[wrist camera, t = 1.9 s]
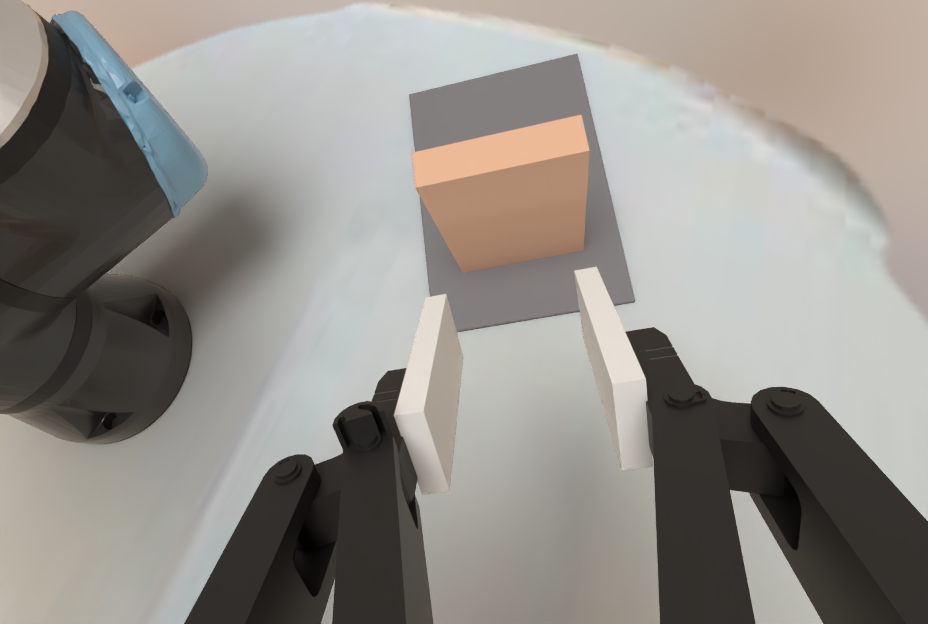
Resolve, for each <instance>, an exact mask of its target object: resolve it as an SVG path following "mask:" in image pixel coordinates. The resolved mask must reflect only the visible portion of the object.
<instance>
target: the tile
mask: <svg viewBox="0 0 928 624" xmlns="http://www.w3.org/2000/svg"><path fill="white" fill-rule="evenodd" d="M589 151H590V150H589V146H588V142H587V137H586V133H585V128H584V124H583V119H582V115H577V116H573V117H568V118H564V119H559V120H555V121H550V122H546V123H542V124H537V125H533V126H528V127H524V128H519V129H515V130H510V131H506V132H502V133H497V134H493V135H488V136H484V137H479V138H475V139H470V140H466V141H462V142H457V143H453V144H448V145H444V146H439V147H435V148H431V149H426V150H422V151H417V152H413V153H412V160H413V170H414V179H415V188H416V190H417V192H418V194H419V195H420V197H421V199H422V201H423V203H424V204H425V206H426V208H427V210H428V212H429V213H430V215H431V217H432V219H433V221H434V222H435V224H436V226H437V228H438V230H439V231H440V233H441V235H442V237H443V239H444V240H445V242H446V244H447V246H448V248H449V249H450V251H451V253H452V255H453V257H454V258H455V260H456V262H457V264H458V266H459V267H460V269H461V271H462V273H466V272H471V271H477V270H482V269H487V268H493V267H498V266H504V265H509V264H514V263H520V262H525V261H531V260H536V259H541V258H547V257H552V256H557V255H563V254H568V253H574V252H579V251H584V234H585V218H586V201H587V184H588V168H589Z"/></svg>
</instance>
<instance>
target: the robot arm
mask: <svg viewBox="0 0 928 624" xmlns="http://www.w3.org/2000/svg"><path fill="white" fill-rule="evenodd" d="M207 175H208V167H207V163H206V160H205V158H204V157H203V155H202V154H201V152H200V151H199V150H198V149H197V147H196V146H195V145H194V144H193V142H192V141H191V140H190V139H189V138H188V136H187V135H186V134H185V133H184V131H183V130H182V129H181V128H180V127H179V125H178V124H177V123H176V122H175V121H174V119H173V118H172V117H171V116H170V115H169V114H168V112H167V111H166V110H165V109H164V108H163V106H162V105H161V104H160V103H159V102H158V100H157V99H156V98H155V97H154V96H153V95H152V93H151V92H150V91H149V90H148V89H147V88H146V86H145V85H144V84H143V83H142V82H141V81H140V79H139V78H138V77H137V76H136V75H135V74H134V72H133V71H132V70H131V69H130V68H129V66H128V65H127V64H126V63H125V62H124V61H123V59H122V58H121V57H120V56H119V55H118V54H117V53H116V51H115V50H114V49H113V48H112V47H111V46H110V45H109V43H108V42H107V41H106V40H105V39H104V38H103V36H102V35H101V34H100V33H99V32H98V31H97V30H96V29H95V28H94V26H93V25H92V24H90V22H89V21H88V20H87V19H86V18H85V17H84V16H83V15H82V14H81V13H79V12H77V11H67V12H66V13H64V14H58V15H55V14H54V15H53V16H52V20H51V22H50V23H49V22H47V21H46V20H45V19H44V18H43V17H41V16H40V15H39V14H38V13H37V12H35V11H34V10H33V9H32V8H31V7H30V6H29V5H27V4H26V3H24V2H23V1H21V0H0V414H8V415H10V416H12V417H14V418H16V419H18V420H21V421H23V422H25V423H27V424H29V425H31V426H34V427H36V428H38V429H40V430H42V431H44V432H46V433H49V434H51V435H53V436H55V437H57V438H60V439H63V440H67V441H71V442H79V443H98V444H103V443H112V442H117V441H120V440H124V439H126V438H129V437H131V436H133V435H135V434H137V433H138V432H140V431H142V430H143V429H145V428H146V427H147V426H149V425H150V424H151V423H152V422H154V421H155V420H156V419H157V418H158V417H159V416H160V415H161V414H162V413H163V412H164V411H165V409H166V408H167V407H168V406H169V404H170V403H171V401H172V400H173V398H174V397H175V395H176V394H177V392H178V390H179V388H180V386H181V384H182V382H183V379H184V377H185V374H186V371H187V368H188V364H189V360H190V353H191V331H190V325H189V321H188V318H187V315H186V313H185V311H184V309H183V307H182V306H181V304H180V303H179V301H178V300H177V299H176V298H175V297H174V296H173V295H172V294H171V293H170V292H168V291H167V290H165V289H164V288H162V287H160V286H157V285H155V284H153V283H151V282H148V281H146V280H144V279H141V278H138V277H134V276H129V275H118V274H105V273H107V272H108V271H109V270H110V269H111V268H113V267H114V266H115V265H116V264H117V263H119V262H120V261H121V260H122V259H123V258H125V257H126V256H127V255H128V254H129V253H131V252H132V251H133V250H134V249H135V248H137V247H138V246H139V245H140V244H141V243H143V242H144V241H145V240H146V239H148V238H149V237H150V236H151V235H152V234H154V233H155V232H156V231H157V230H158V229H160V228H161V227H162V226H163V225H164V224H166V223H167V222H168V221H169V220H170V219H172V218H175V217H176V216H177V215H178V214H179V212H180V209H181V208H182V207H183V206H184V205H185V204H186V203H187V202H188V201H189V200H190V199H191V198H192V197H193V196H194V195H195V194H196V193H197V192H198V191H199V190H200V189H201V188H202V187H203V186H204V183H205V182H206V179H207ZM574 274H575V281H576V288H577V295H578V303H579V310H580V317H581V324H582V332H583V338H584V342H585V345H586V349H587V352H588V355H589V359H590V362H591V366H592V369H593V373H594V376H595V379H596V383H597V386H598V390H599V393H600V397H601V400H602V403H603V407H604V410H605V414H606V417H607V421H608V424H609V427H610V431H611V434H612V438H613V441H614V445H615V448H616V451H617V455H618V458H619V462H620V465H621V469H622V470H628V469H637V468H645V467H653V464H652V455H653V458H654V478H655V503H656V529H657V554H658V580H659V605H660V624H755V619H754V614H753V609H752V604H751V598H750V593H749V588H748V583H747V578H746V572H745V567H744V562H743V557H742V552H741V546H740V541H739V536H738V531H737V526H736V520H735V515H734V510H733V505H732V500H731V495H730V490H735V491H743V492H749V493H750V496H751V498H752V499H753V501H754V503H755V505H756V506H757V508H758V510H759V512H760V513H761V515H762V517H763V519H764V520H765V522H766V524H767V526H768V527H769V529H770V531H771V533H772V534H773V536H774V538H775V540H776V541H777V543H778V545H779V547H780V548H781V550H782V552H783V554H784V555H785V557H786V559H787V561H788V562H789V564H790V566H791V568H792V569H793V571H794V573H795V575H796V576H797V578H798V580H799V582H800V583H801V585H802V587H803V589H804V590H805V592H806V594H807V596H808V597H809V599H810V601H811V603H812V604H813V606H814V608H815V610H816V611H817V613H818V615H819V617H820V618H821V620H822V622H823V624H928V521H927V520H926V519H925V518H924V517H923V516H922V515H921V514H920V512H919V511H918V510H917V509H916V508H915V507H914V506H913V505H912V504H911V503H910V501H909V500H908V499H907V498H906V497H905V496H904V495H903V494H902V493H901V492H900V490H899V489H898V488H897V487H896V486H895V485H894V484H893V483H892V482H891V481H890V479H889V478H888V477H887V476H886V475H885V474H884V473H883V472H882V471H881V470H880V468H879V467H878V466H877V465H876V464H875V463H874V462H873V461H872V460H871V459H870V457H869V456H868V455H867V454H866V453H865V452H864V451H863V450H862V449H861V448H860V446H859V445H858V444H857V443H856V442H855V441H854V440H853V439H852V438H851V437H850V435H849V434H848V433H847V432H846V431H845V430H844V429H843V428H842V427H841V426H840V424H839V423H838V422H837V421H836V420H835V419H834V418H833V417H832V416H831V415H830V413H829V412H828V411H827V410H826V409H825V408H824V407H823V406H822V405H821V404H820V402H819V401H818V400H816V399H815V398H814V397H812V396H811V395H810V394H808V393H805V392H803V391H800V390H798V389H793V388H787V387H770V388H767V389H763V390H760V391H759V392H757V393H756V394H755V395H753V398H752V400H751V404H747V403H732V402H725V401H720V400H716V399H713V398H711V396H710V394H709V392H708V391H706V390H705V389H704V388H702V387H701V386H698V385H695V384H694V383H693V381H692V379H691V377H690V376H689V374H688V372H687V371H686V369H685V367H684V365H683V364H682V362H681V360H680V358H679V357H678V356H677V353H676V351H675V350H674V348H673V347H672V344H671V343H670V341H669V339H668V337H667V336H666V335H665V334H664V333H662V332H660V331H659V330H657V329H656V328H654V327H653V328H647V329H640V330H634V331H628V332H625V330H624V328H623V326H622V323H621V321H620V319H619V317H618V314H617V312H616V310H615V308H614V305H613V303H612V301H611V298H610V296H609V294H608V292H607V289H606V287H605V285H604V283H603V280H602V278H601V276H600V273H599V271H598V269H597V267H592V268H586V269H581V270H575V271H574ZM462 364H463V354H462V351H461V347H460V343H459V339H458V336H457V332H456V328H455V324H454V321H453V317H452V313H451V309H450V306H449V302H448V298H447V294H442V295H436V296H431V297H426V299H425V302H424V306H423V310H422V313H421V317H420V321H419V325H418V328H417V332H416V336H415V339H414V343H413V347H412V350H411V354H410V358H409V361H408V365H407V368H404V369H398V370H392V371H388V372H387V373H386V374H385V375H384V376H383V377H382V378H381V379H380V381H379V382H378V385H377V387H376V390H375V395H374V396H373V399H372V402H371V401H366V402H360V403H357V404H354V405H352V406H349V407H348V408H346V409H345V410H343V411H342V412H341V413H340V414H339V415H338V416H337V417H336V418H335V420H334V423H333V428H334V430H335V432H336V435H337V437H338V439H339V442H340V444H341V446H342V448H343V453H342V454H341V455H339V456H337V457H334V458H332V459H329V460H327V461H324V462H321V463H319V464H316V465H315V464H314V462H313V460H312V458H311V457H309V456H307V455H300V454H297V455H293V456H289V457H287V458H285V459H283V460H281V461H279V462H277V463H276V464H275V465H274V466H272V467H271V468H270V469H269V470H268V472H267V473H266V474H265V476H264V477H263V479H262V481H261V483H260V485H259V487H258V488H257V490H256V492H255V494H254V496H253V498H252V500H251V501H250V503H249V505H248V507H247V509H246V511H245V512H244V514H243V516H242V518H241V520H240V522H239V524H238V525H237V527H236V529H235V531H234V533H233V535H232V536H231V538H230V540H229V542H228V544H227V546H226V548H225V549H224V551H223V553H222V555H221V557H220V559H219V560H218V562H217V564H216V566H215V568H214V570H213V572H212V573H211V575H210V577H209V579H208V581H207V583H206V585H205V586H204V588H203V590H202V592H201V594H200V596H199V597H198V599H197V601H196V603H195V605H194V607H193V609H192V610H191V612H190V614H189V616H188V618H187V620H186V621H185V623H184V624H321V621H322V618H323V615H324V611H325V608H326V605H327V602H328V599H329V595H330V592H331V589H332V586H333V582H334V579H335V589H334V605H333V621H332V624H433V618H432V609H431V601H430V593H429V584H428V576H427V568H426V559H425V551H424V543H423V534H422V526H421V518H420V510H419V505H418V502H417V499H416V497H415V489H416V484H417V481H418V484H419V487H420V490H421V492H422V494H430V493H438V492H447V491H450V481H451V472H452V462H453V452H454V442H455V433H456V423H457V413H458V403H459V394H460V384H461V374H462Z"/></svg>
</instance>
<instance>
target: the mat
mask: <svg viewBox="0 0 928 624" xmlns="http://www.w3.org/2000/svg"><path fill="white" fill-rule="evenodd" d="M409 98H410V107H411V117H412V127H413V136H414V146H415V152H417V151H422V150H426V149H431V148H435V147H439V146H444V145H448V144H453V143H457V142H462V141H466V140H470V139H475V138H479V137H484V136H488V135H493V134H497V133H502V132H506V131H510V130H515V129H519V128H524V127H528V126H533V125H537V124H542V123H546V122H550V121H555V120H559V119H564V118H568V117H573V116H577V115H582V119H583V124H584V128H585V133H586V137H587V142H588V146H589V150H590V151H589V168H588V184H587V201H586V218H585V234H584V251H579V252H574V253H568V254H563V255H557V256H552V257H547V258H541V259H536V260H531V261H525V262H520V263H514V264H509V265H504V266H498V267H493V268H487V269H482V270H477V271H471V272H466V273H462V271H461V269H460V267H459V266H458V264H457V262H456V260H455V258H454V257H453V255H452V253H451V251H450V249H449V248H448V246H447V244H446V242H445V240H444V239H443V237H442V235H441V233H440V231H439V230H438V228H437V226H436V224H435V222H434V221H433V219H432V217H431V215H430V213H429V212H428V210H427V208H426V206H425V204H424V203H423V201H422V199H421V197H420V204H421V214H422V224H423V233H424V243H425V253H426V262H427V272H428V282H429V291H430V297H431V296H436V295H442V294H447V298H448V302H449V306H450V309H451V313H452V317H453V321H454V324H455V328H456V332H460V331H466V330H472V329H478V328H484V327H490V326H496V325H502V324H508V323H514V322H520V321H526V320H531V319H537V318H543V317H549V316H555V315H561V314H567V313H573V312H579V311H580V310H579V303H578V295H577V288H576V281H575V274H574V271H575V270H581V269H586V268H592V267H597V269H598V271H599V273H600V276H601V278H602V280H603V283H604V285H605V287H606V289H607V292H608V294H609V296H610V298H611V301H612V303H613V305H614V306H615V305H621V304H626V303H632V302H635V298H634V294H633V290H632V286H631V281H630V277H629V273H628V268H627V264H626V260H625V256H624V251H623V247H622V243H621V238H620V234H619V230H618V226H617V221H616V217H615V213H614V208H613V204H612V200H611V196H610V191H609V187H608V183H607V178H606V174H605V170H604V166H603V161H602V157H601V153H600V149H599V144H598V140H597V136H596V131H595V127H594V123H593V119H592V114H591V110H590V106H589V101H588V97H587V93H586V89H585V84H584V80H583V76H582V71H581V67H580V63H579V59H578V54H574V55H570V56H566V57H562V58H558V59H554V60H550V61H546V62H541V63H537V64H533V65H529V66H525V67H521V68H517V69H513V70H509V71H504V72H500V73H496V74H492V75H488V76H484V77H480V78H476V79H471V80H467V81H463V82H459V83H455V84H451V85H447V86H443V87H439V88H434V89H430V90H426V91H422V92H418V93H414V94H410V95H409Z"/></svg>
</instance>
